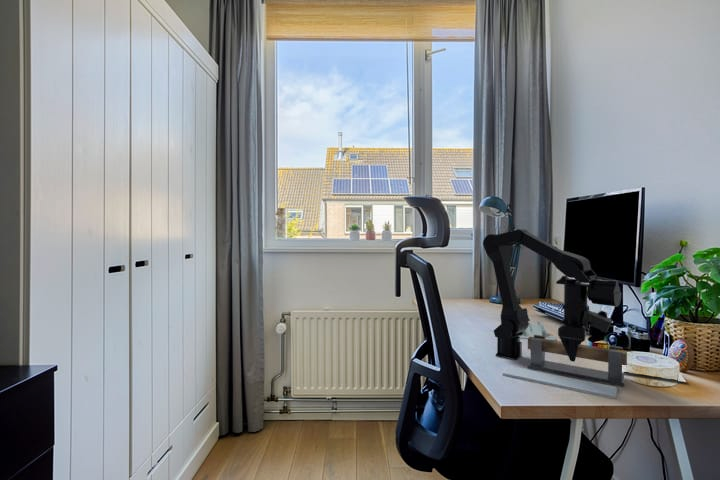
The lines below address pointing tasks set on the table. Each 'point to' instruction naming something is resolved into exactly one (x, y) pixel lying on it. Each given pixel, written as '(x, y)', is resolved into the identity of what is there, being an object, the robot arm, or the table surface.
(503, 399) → the table surface
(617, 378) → the dark grey u-shaped stand
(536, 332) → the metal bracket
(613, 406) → the table surface
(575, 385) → the blue-grey mat
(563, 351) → the walnut bar
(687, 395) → the table surface
